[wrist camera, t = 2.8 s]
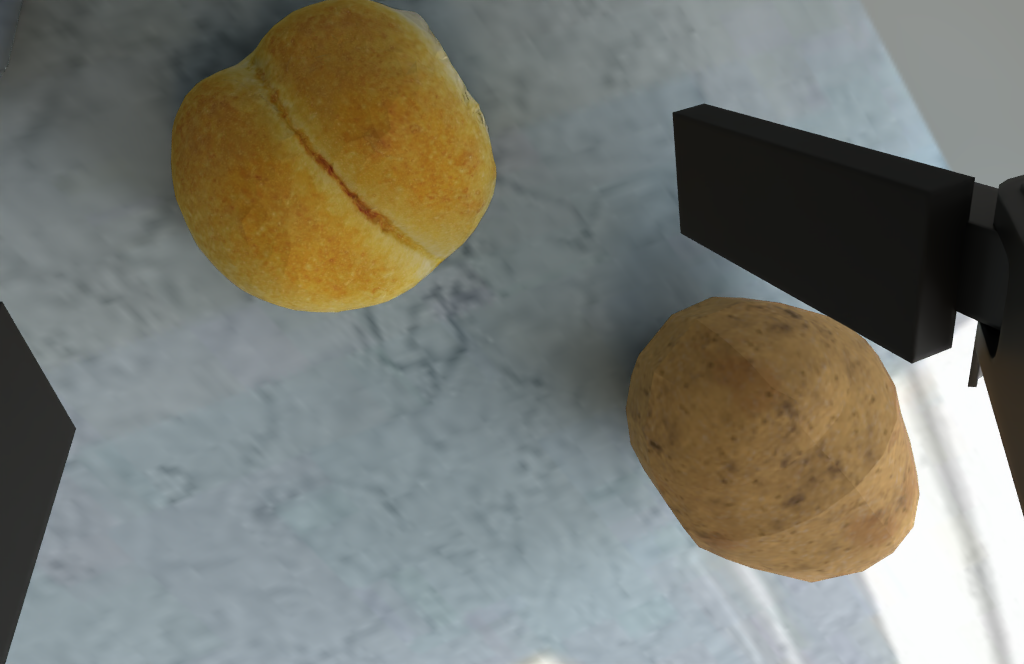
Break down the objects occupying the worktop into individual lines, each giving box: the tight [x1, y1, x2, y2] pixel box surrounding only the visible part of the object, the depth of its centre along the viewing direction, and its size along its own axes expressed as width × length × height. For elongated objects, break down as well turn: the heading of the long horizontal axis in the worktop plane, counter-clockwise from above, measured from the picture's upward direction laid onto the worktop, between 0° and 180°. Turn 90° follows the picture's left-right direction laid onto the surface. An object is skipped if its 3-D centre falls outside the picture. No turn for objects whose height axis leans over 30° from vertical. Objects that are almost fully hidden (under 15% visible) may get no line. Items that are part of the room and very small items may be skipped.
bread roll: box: [171, 0, 496, 312], centre depth 21 cm, size 8×9×4 cm
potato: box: [626, 297, 919, 582], centre depth 28 cm, size 10×14×8 cm
